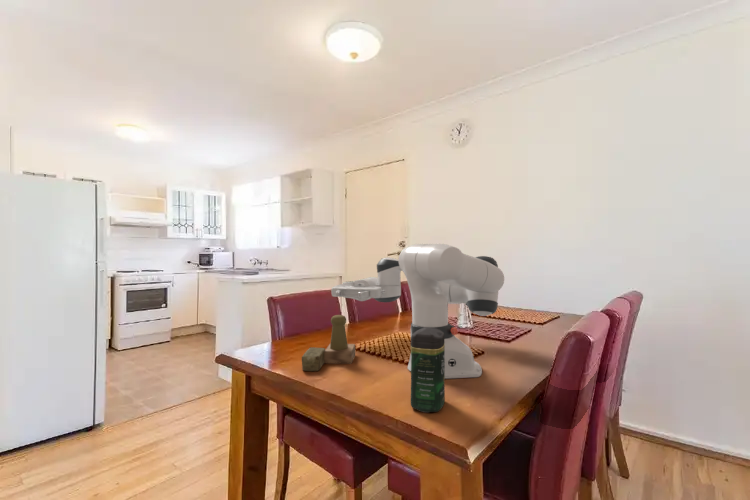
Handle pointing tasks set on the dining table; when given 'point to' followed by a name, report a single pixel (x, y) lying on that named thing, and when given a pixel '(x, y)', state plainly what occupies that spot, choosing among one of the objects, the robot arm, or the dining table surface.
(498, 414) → the dining table surface
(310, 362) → the stone block
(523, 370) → the dining table surface
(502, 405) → the dining table surface
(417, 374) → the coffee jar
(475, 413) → the dining table surface
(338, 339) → the olive peg figure
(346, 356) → the walnut block
